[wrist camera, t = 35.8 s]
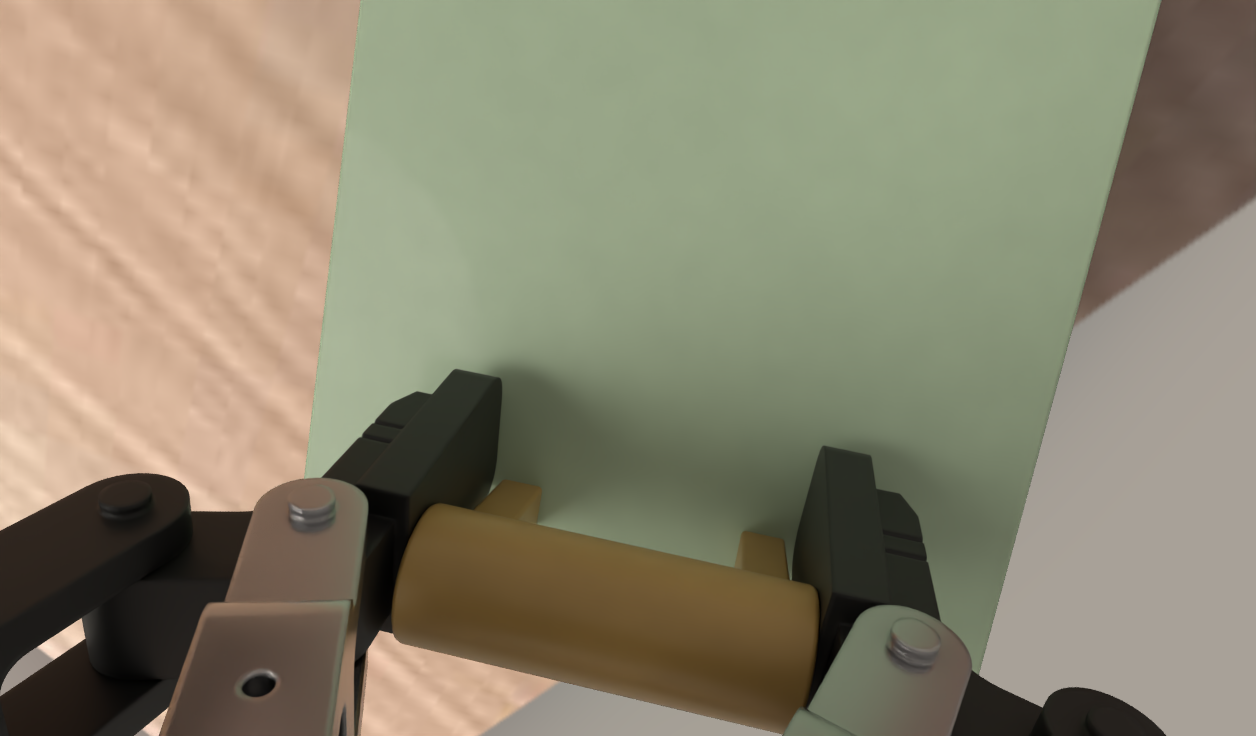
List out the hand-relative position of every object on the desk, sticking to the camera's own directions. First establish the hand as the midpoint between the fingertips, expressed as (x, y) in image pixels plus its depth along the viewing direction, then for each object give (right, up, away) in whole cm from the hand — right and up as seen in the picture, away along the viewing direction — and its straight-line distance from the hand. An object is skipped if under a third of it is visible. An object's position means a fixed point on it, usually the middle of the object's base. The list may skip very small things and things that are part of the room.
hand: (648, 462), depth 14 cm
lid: (+1, +6, 0) cm, 6 cm away
